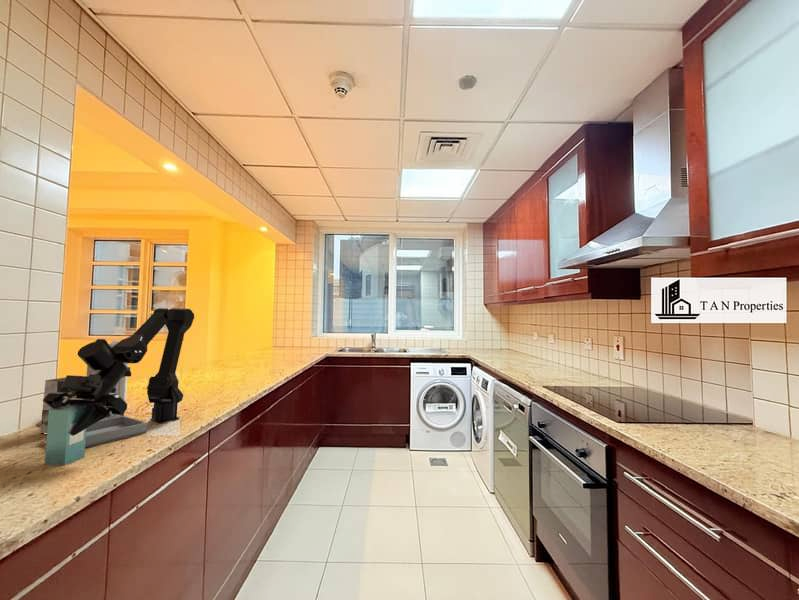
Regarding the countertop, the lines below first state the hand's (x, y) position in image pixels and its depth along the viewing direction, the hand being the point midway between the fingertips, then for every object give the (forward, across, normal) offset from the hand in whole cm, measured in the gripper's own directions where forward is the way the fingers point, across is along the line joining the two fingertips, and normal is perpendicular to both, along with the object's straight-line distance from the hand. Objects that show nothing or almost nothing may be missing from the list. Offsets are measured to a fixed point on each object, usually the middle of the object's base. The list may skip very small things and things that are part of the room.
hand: (61, 434), depth 84 cm
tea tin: (+4, 0, +6) cm, 7 cm away
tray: (-8, -6, +18) cm, 20 cm away
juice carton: (-18, -19, +28) cm, 39 cm away
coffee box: (-10, -21, +20) cm, 31 cm away
